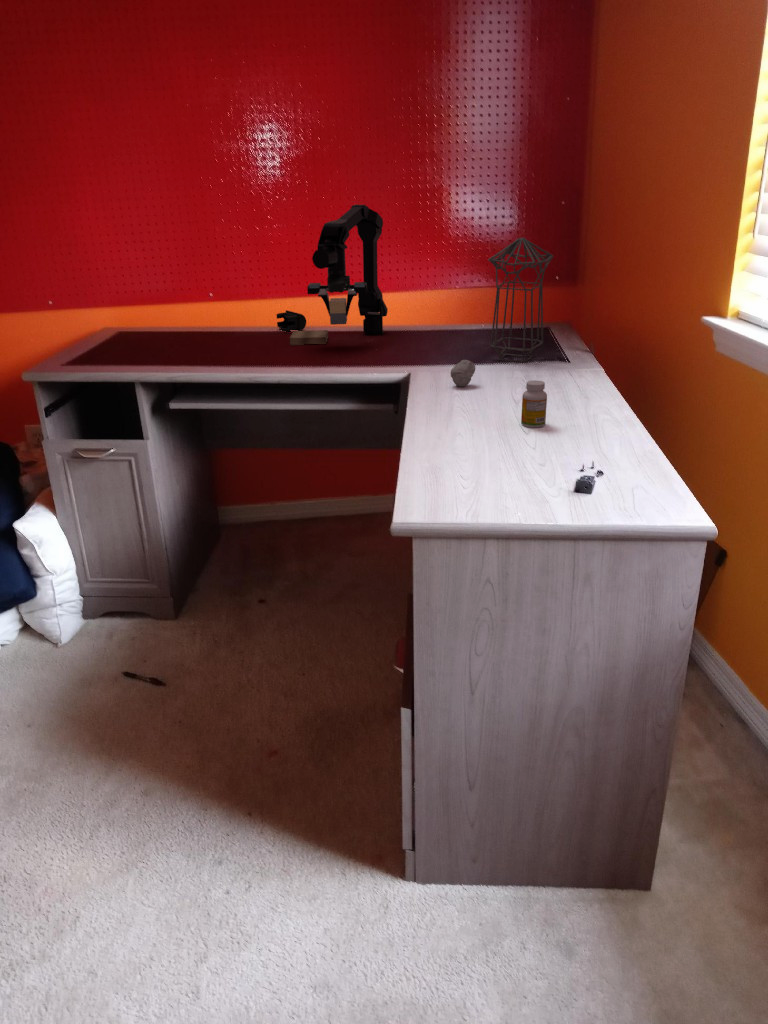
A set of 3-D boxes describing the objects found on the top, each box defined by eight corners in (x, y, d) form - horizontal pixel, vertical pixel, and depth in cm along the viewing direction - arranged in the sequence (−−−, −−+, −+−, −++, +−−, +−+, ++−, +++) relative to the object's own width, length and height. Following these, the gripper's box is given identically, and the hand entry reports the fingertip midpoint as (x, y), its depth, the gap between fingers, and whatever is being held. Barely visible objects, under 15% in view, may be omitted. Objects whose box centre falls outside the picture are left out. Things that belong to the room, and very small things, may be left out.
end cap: (307, 331, 285) (306, 312, 282) (289, 334, 281) (288, 315, 278) (294, 328, 292) (292, 309, 290) (277, 330, 289) (275, 311, 286)
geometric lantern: (548, 356, 241) (556, 235, 226) (531, 368, 228) (539, 241, 213) (499, 351, 247) (505, 233, 232) (481, 362, 235) (485, 239, 220)
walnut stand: (328, 337, 274) (327, 330, 273) (325, 344, 263) (325, 337, 262) (293, 338, 274) (293, 331, 273) (290, 345, 263) (289, 337, 262)
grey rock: (479, 386, 209) (480, 360, 206) (458, 390, 206) (458, 364, 203) (466, 382, 213) (467, 356, 211) (445, 385, 210) (445, 359, 208)
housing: (347, 319, 257) (346, 297, 255) (346, 324, 250) (345, 301, 247) (331, 320, 257) (330, 298, 255) (330, 324, 250) (329, 302, 247)
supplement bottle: (524, 420, 181) (526, 378, 177) (547, 422, 179) (550, 380, 175) (518, 426, 176) (520, 384, 172) (542, 429, 174) (545, 386, 170)
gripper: (304, 268, 239) (307, 320, 246) (365, 267, 239) (367, 319, 246) (307, 264, 250) (310, 314, 256) (366, 263, 249) (367, 313, 256)
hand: (338, 315), depth 253 cm, fingers closed on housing, 5 cm apart
